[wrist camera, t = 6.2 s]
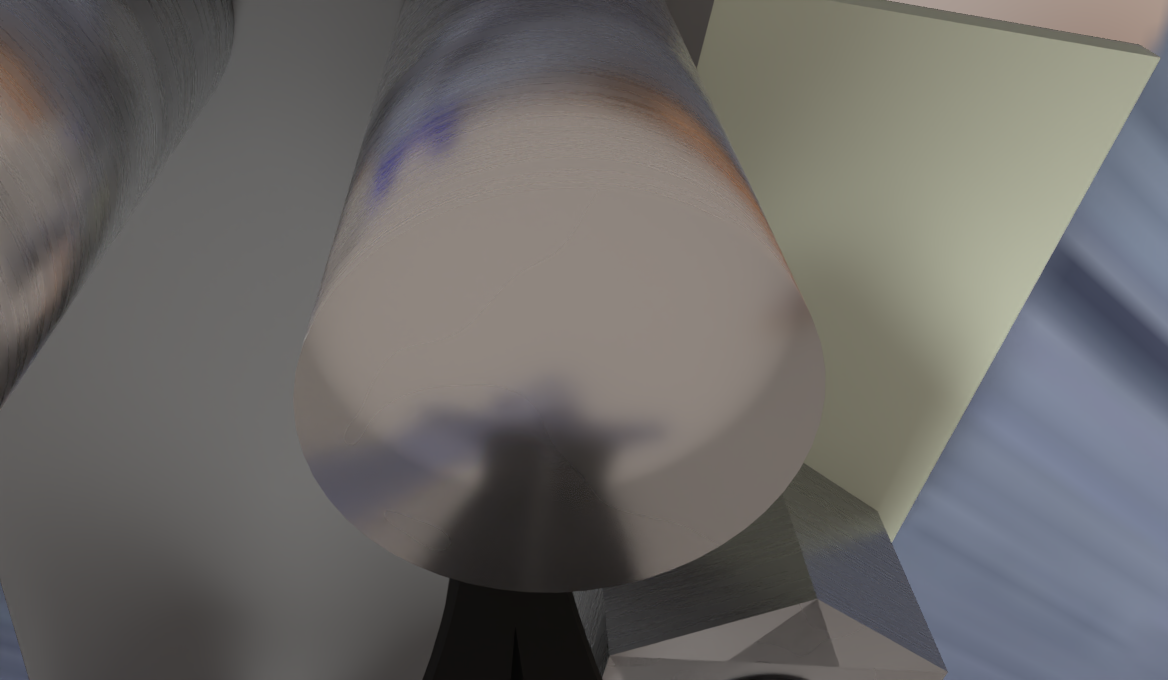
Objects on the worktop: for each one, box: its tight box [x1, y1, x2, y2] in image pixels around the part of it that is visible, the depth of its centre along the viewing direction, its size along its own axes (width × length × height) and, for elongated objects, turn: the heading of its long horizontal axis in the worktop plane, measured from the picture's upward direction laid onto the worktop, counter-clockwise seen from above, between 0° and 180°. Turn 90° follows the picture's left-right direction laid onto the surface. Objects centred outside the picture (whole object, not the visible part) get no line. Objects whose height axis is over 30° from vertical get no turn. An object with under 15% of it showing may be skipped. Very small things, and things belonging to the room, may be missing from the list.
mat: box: [0, 0, 1160, 680], centre depth 12 cm, size 15×12×1 cm
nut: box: [573, 463, 948, 680], centre depth 12 cm, size 4×5×3 cm
